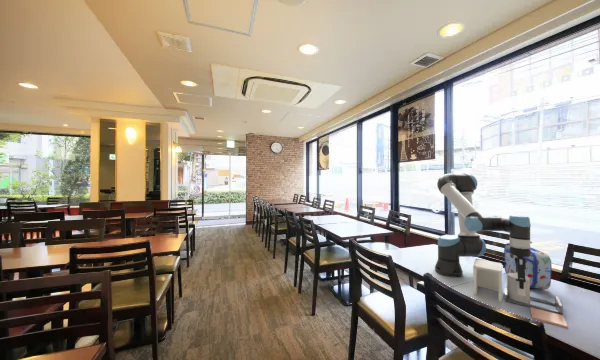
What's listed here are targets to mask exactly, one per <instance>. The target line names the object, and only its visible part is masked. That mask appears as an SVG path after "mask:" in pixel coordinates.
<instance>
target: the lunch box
mask: <svg viewBox="0 0 600 360" xmlns="http://www.w3.org/2000/svg"><path fill="white" fill-rule="evenodd" d="M510 246H511V245H510V242H507V243H506V244H504V249H503V250H504V251H503V255H504V257H503V258H504V261H503V262H502V269H504V272H505V274H508V273H516V264H515V257H516V255H512V254H511V253H510ZM530 249H531V256H530V257H524V259H525V260H526V264H525V266H526V268H525V276H527V277H529V278H530V288H532V289H533V288H534V289H542V290H549V288H550V287H551V284H552V259H551V257H550V256H549V255H548V254H547V253H545V252H543V251H541V250H538V249H535V248H533V247H531V246H530Z"/></svg>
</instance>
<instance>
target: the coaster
mask: <svg viewBox="0 0 600 360" xmlns="http://www.w3.org/2000/svg"><path fill="white" fill-rule="evenodd" d="M529 309H530V312H531V316H532V320H536V321H539V322H543V323H547V324H550V323H551V324H552V325H554V326H558V327H562V328H565V329H568V327H569V326H568V324H567V322H566V319H565V317H564V314H563V315H559V314H555V313H551V312H547V311H543V310H540V309H536V308H532V307H529ZM551 324H550V325H551Z"/></svg>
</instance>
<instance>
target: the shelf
mask: <svg viewBox="0 0 600 360" xmlns="http://www.w3.org/2000/svg"><path fill="white" fill-rule="evenodd" d="M473 263H474V264H473V265H472V266H473V267H472V268H473V286H472V288H473V295H475V296H477V294H478V289H479V288H484V289H488V290H491V291H492V290H493V291H495V292H498V302H503V295H502V294H503V286H502V285H503V275H502V274H503V271H502V270H503V262H502V263H501V262H496V261H491V260H486V259H479V258H475V259H474V262H473Z"/></svg>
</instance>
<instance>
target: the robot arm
mask: <svg viewBox="0 0 600 360" xmlns="http://www.w3.org/2000/svg"><path fill="white" fill-rule="evenodd" d="M436 185H437V189H438V191H439V192H440V193H441V194H442V195H443V196H445V197H446V198H447V199H448V200H449V201H450V203H451V204H452V205H453V207H455V209H456V211H457V216H458V225H459V233H458V234H457V235H453V234H444V235H440V236H439V237H438V239H437V260H436V263H435V266H434V271H435V272H436V273H438V274H440V275H443V276H446V277H449V278H450V277H452V278H461V277H463V275H464V274H463V273H464V272H463V269H462V265H461V263H460V257H464V258H465V257H466V258H467V257H468V258H470V257H472V258H475V257H482V256H483V255H484V254H485V253H486V250H487V245H486V242H485V241H484V239H483V238H482V237H481V236H480V234H478V233H477V232H504V233H505V232H506V233H509V243H510V245H511V246H510V253H511V254H512V255H516V257H515V264H516V273H517V274H518V279H516V281H517V291H518V295H522V296H526V294H525V282H526V280H525V268H526V266H525V264H526V260H525V259H524V257H530V256H531V249H530V247H531V244H533V241H531V219H530V217H529V216H527V215H518V214H511V215H509V217H506V216H501V215H492V216H482V214H481V213H480V212H479V211H478V210H477V209H476V208H475V207H474V204H473V198H472V196H473V195H474V192H475V191H476V190H477V187H478V180H477V178H476V177H475V176H474V175H473V174H471V173H463V172H462V173H446V174H443V175H441V176H440V177H439V178H438V181H437V184H436ZM520 278H522V279H520Z"/></svg>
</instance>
